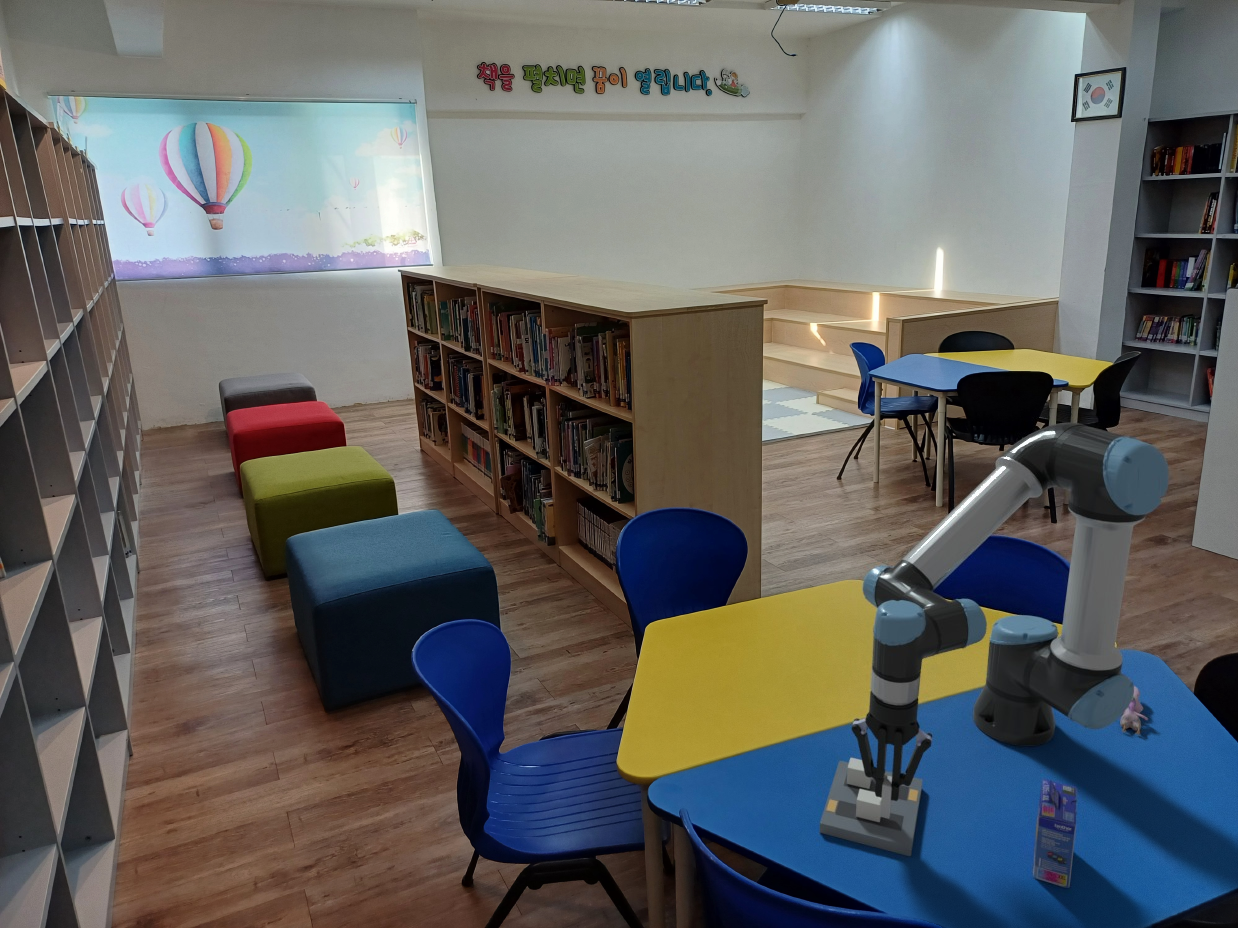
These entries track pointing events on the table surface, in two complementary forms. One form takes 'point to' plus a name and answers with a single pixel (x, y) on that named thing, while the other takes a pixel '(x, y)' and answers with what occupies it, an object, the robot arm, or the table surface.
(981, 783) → the table surface
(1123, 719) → the rabbit figure
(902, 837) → the switch bank
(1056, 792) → the ink cartridge box
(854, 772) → the far tab
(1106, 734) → the table surface
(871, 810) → the near tab
